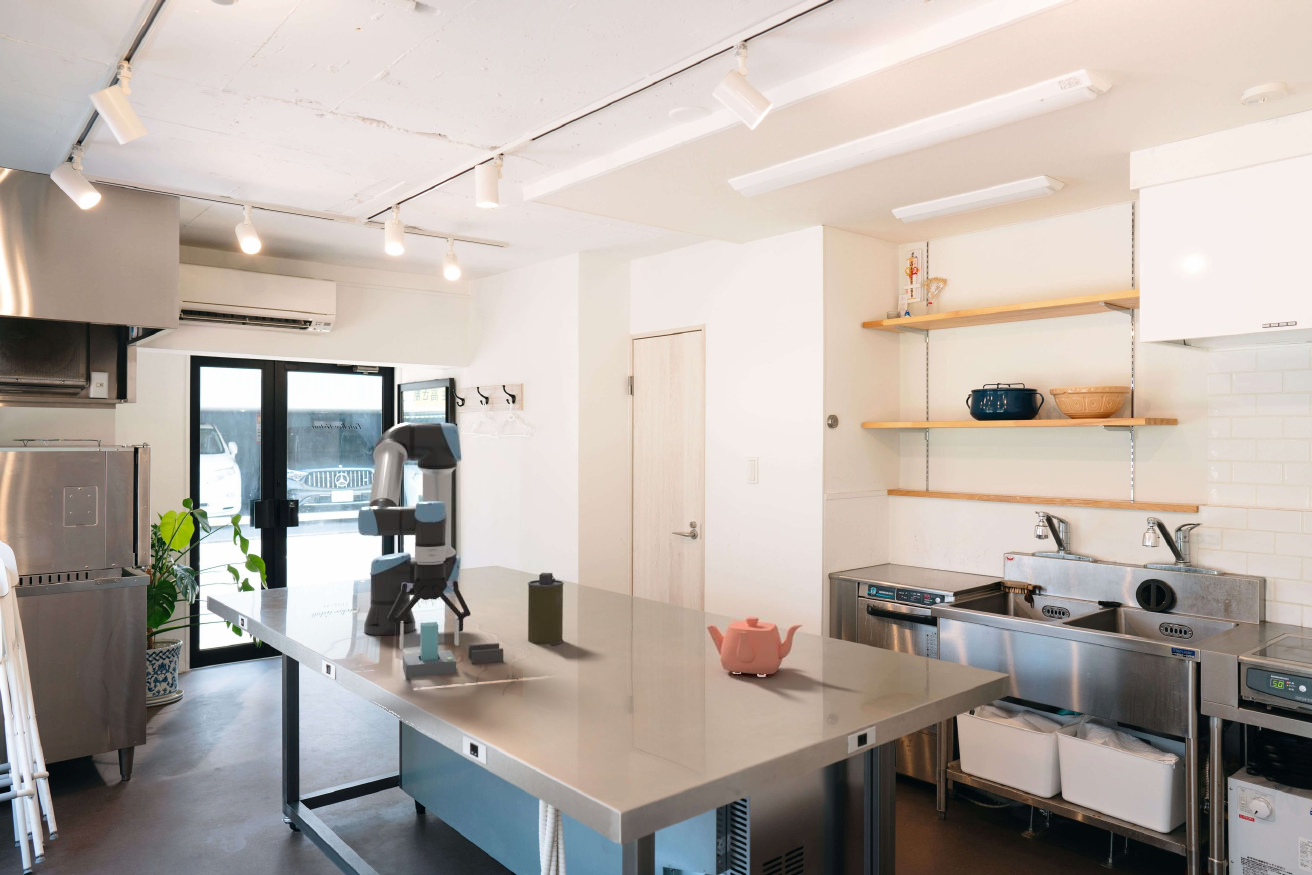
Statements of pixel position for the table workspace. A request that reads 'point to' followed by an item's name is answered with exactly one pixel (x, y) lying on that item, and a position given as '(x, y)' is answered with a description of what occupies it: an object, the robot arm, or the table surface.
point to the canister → (545, 610)
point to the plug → (429, 641)
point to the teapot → (752, 646)
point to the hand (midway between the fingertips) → (429, 646)
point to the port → (428, 665)
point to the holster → (485, 653)
